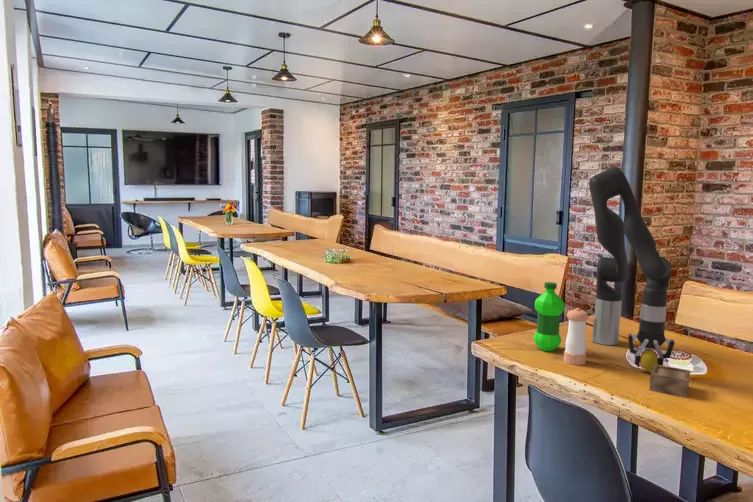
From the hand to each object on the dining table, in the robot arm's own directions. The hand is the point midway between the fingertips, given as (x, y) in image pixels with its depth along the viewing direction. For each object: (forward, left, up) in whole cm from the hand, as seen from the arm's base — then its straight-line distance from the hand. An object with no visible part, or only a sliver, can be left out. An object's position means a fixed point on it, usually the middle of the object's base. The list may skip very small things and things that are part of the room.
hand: (648, 367), depth 184 cm
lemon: (0, 0, -2) cm, 2 cm away
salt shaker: (-23, 0, -2) cm, 23 cm away
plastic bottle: (-34, +10, -2) cm, 36 cm away
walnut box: (+6, -12, -2) cm, 14 cm away
